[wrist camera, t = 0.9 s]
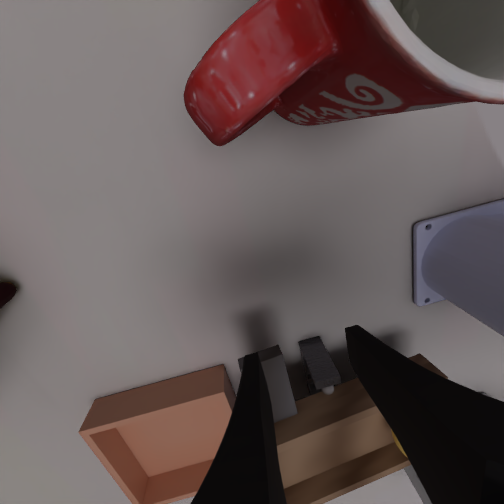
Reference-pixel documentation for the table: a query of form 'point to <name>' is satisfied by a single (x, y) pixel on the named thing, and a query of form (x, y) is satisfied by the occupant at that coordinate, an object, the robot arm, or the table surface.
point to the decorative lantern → (6, 292)
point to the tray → (161, 434)
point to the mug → (347, 62)
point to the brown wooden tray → (329, 435)
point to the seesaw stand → (318, 365)
